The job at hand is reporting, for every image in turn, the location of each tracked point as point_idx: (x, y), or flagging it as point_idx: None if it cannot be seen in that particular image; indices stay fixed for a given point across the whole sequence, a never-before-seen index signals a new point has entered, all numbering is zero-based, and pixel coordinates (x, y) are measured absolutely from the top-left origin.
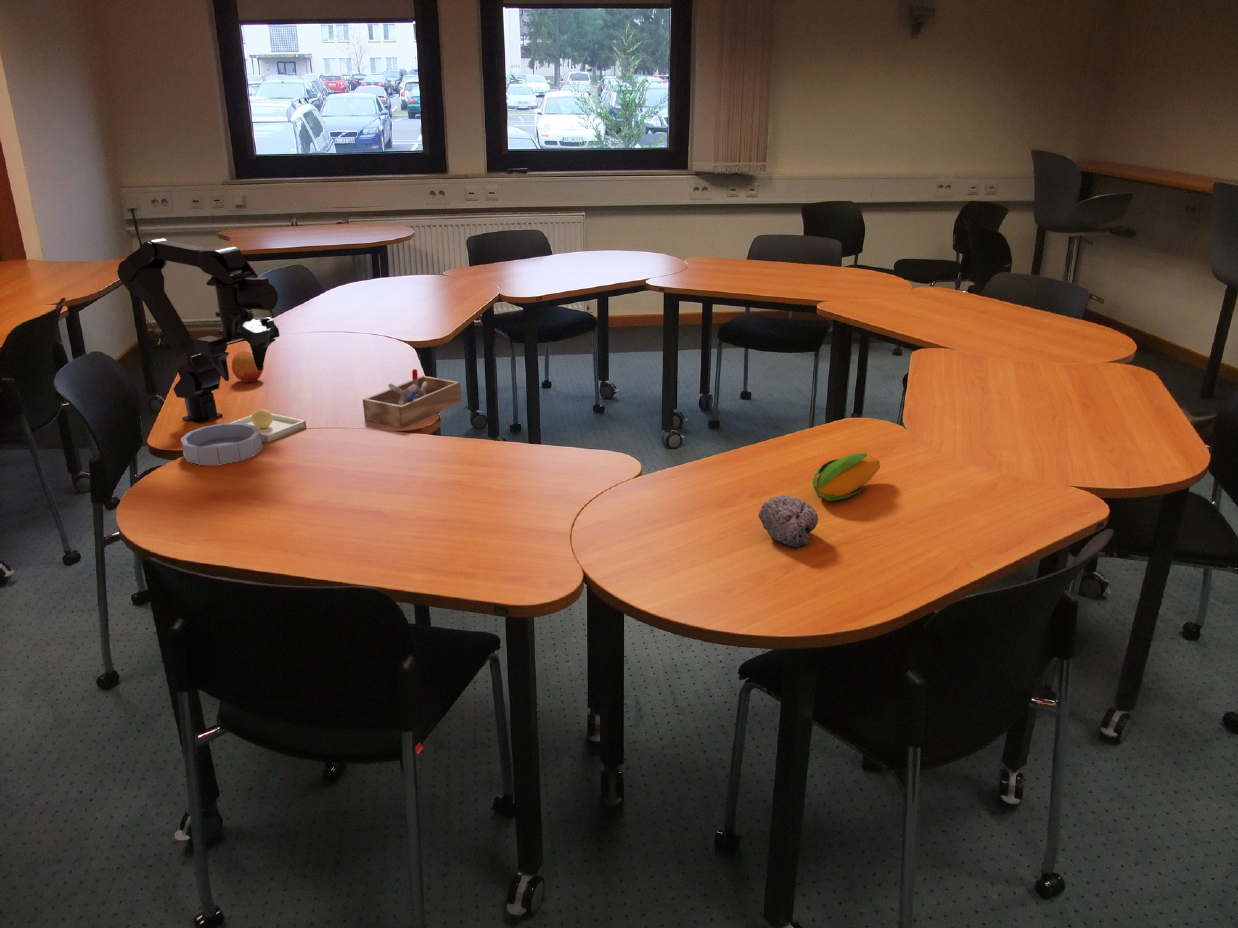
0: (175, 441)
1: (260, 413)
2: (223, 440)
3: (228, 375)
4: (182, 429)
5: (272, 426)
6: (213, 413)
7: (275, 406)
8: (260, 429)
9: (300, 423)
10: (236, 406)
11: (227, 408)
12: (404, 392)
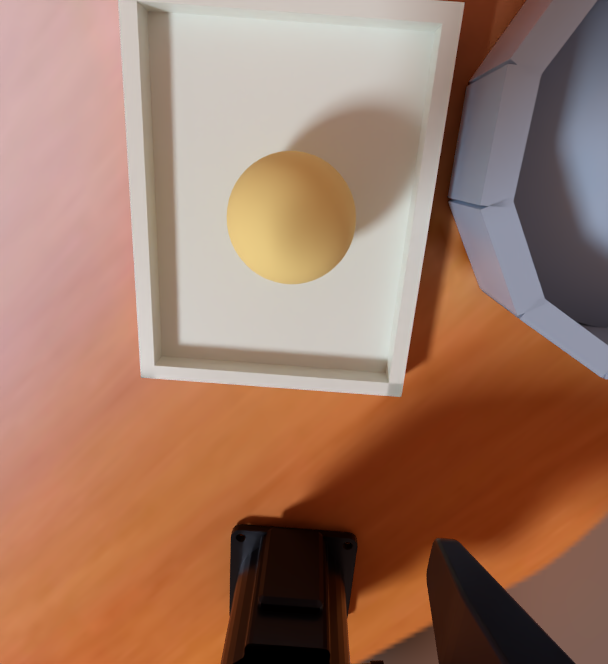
0: (567, 477)
1: (323, 196)
2: (553, 256)
3: (466, 584)
4: None
5: None
6: (289, 543)
7: (6, 423)
8: None
9: None
10: (111, 561)
11: (150, 573)
12: None
